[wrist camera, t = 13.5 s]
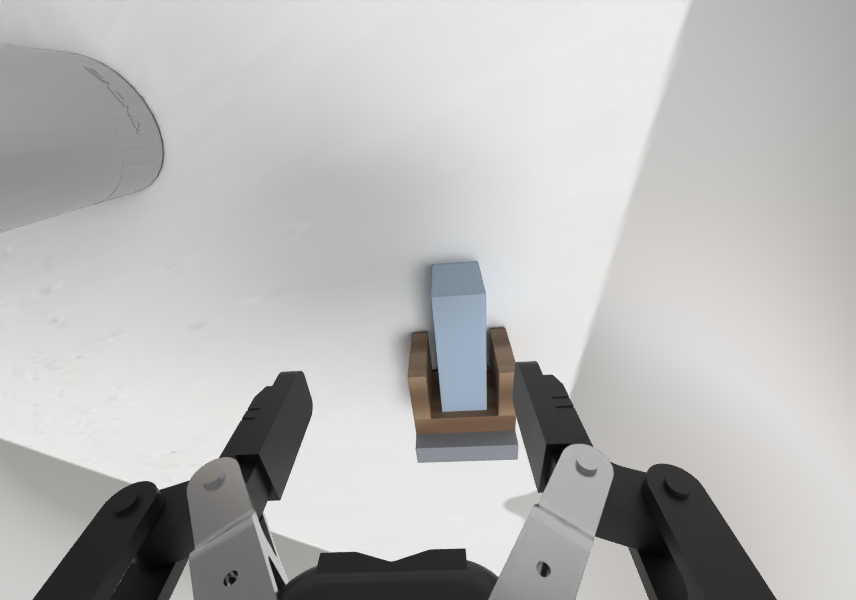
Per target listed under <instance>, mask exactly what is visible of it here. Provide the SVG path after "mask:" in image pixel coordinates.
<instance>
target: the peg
mask: <svg viewBox="0 0 856 600" xmlns="http://www.w3.org/2000/svg"><path fill="white" fill-rule="evenodd" d="M431 300H432V310H433V321H434V331H435V341H436V352H437V362H438V372H439V383H440V393H441V403H442V412H452V411H475V410H487V378H486V292H485V288H484V284H483V280H482V276H481V272H480V268H479V264H478V261H476V262H462V263H448V264H434V265H432V290H431Z"/></svg>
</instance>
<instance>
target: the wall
mask: <svg viewBox="0 0 856 600" xmlns="http://www.w3.org/2000/svg"><path fill="white" fill-rule="evenodd" d="M416 454H417V460H418V463H424V462H454V461H485V460H515V459H517V458H518V441H517V437H516V433H515V431H492V432H465V433H439V434H417V435H416Z"/></svg>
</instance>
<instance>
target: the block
mask: <svg viewBox="0 0 856 600" xmlns="http://www.w3.org/2000/svg"><path fill="white" fill-rule="evenodd" d="M514 370H515V359H514V356H513V352H512V349H511V346H510V342H509V339H508V335H507V332H506V329H505V328H499V329H490V369H486V378H487V410H475V411H452V412H442V403H441V393H440V383H439V372H438V371H432V367H431V358H430V349H429V339H428V333H413V334H412V343H411V352H410V361H409V370H408V383H409V389H410V396H411V402H412V408H413V415H414V421H415V428H416V434H439V433H465V432H492V431H515V423H516V413H515V410H514V405H513V382H514Z"/></svg>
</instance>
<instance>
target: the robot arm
mask: <svg viewBox="0 0 856 600" xmlns="http://www.w3.org/2000/svg"><path fill="white" fill-rule="evenodd" d="M162 158H163V150H162V141H161V137H160V134H159V130H158V127H157V125H156V123H155V120H154V118H153V116H152V114H151V112H150V111H149V109H148V107H147V106H146V104H145V103H144V101H143V100H142V98H141V97H140V96H139V95H138V94H137V93H136V91H135V90H134V89H133V88H132V87H131V86H130V84H128V83H127V82H126V81H125V80H124V79H123V78H121V77H120V76H119V75H118V74H117V73H116V72H114V71H113V70H111V69H110V68H108V67H106V66H105V65H103V64H102V63H100V62H98V61H95V60H93V59H91V58H88V57H86V56H83V55H78V54H73V53H68V52H60V51H52V50H44V49H36V48H29V47H21V46H14V45H8V44H0V232H4V231H7V230H10V229H14V228H17V227H20V226H23V225H27V224H30V223H33V222H37V221H40V220H43V219H46V218H50V217H53V216H56V215H60V214H63V213H66V212H70V211H73V210H76V209H79V208H83V207H86V206H89V205H93V204H97V203H100V202H103V201H106V200H110V199H113V198H116V197H119V196H123V195H126V194H129V193H133V192H136V191H139V190H142V189H143V188H145V187H147V186H149V185H150V184H151V183H152V182H153V181H154V180H155V178H156V177H157V175H158V173H159V171H160V169H161V165H162ZM513 405H514V410H515V413H516V417H517V420H518V424H519V427H520V431H521V434H522V438H523V442H524V445H525V449H526V452H527V456H528V459H529V463H530V466H531V470H532V473H533V477H534V480H535V484H536V487H537V491H538V493H540V492H544V493H543V495H542V497H541V499H540V501H539V503H538V504H537V505H534V507H533V508H532V510H531V512H530V514H529V516H528V518H527V520H526V522H525V524H524V526H523V528H522V530H521V532H520V534H519V537H518V539H517V541H516V543H515V545H514V547H513V549H512V551H511V553H510V555H509V557H508V559H507V562H506V564H505V566H504V568H503V570H502V572H501V574H500V576H499V577H498V576H496V575H495V574H494V573H493V572H491V571H490V570H488V569H486V568H485V567H483V566H481V565H479V564H477V563H474V562H471V561H468V560H466V549H434V550H427V551H424V552H421V553H418V554H415V555H412V556H409V557H406V558H403V559H400V560H397V561H392V562H390V561H386V560H382V559H379V558H375V557H372V556H368V555H365V554H361V553H358V552H335V553H320V557H319V561H318V565H317V566H315V567H313V568H310V569H308V570H306V571H304V572H303V573H301V574H299V575H298V576H296V577H295V578H294V579H292V580H291V581H290V582H289V581H288V578H287V576H286V574H285V571H284V569H283V567H282V564H281V561H280V558H279V555H278V552H277V549H276V546H275V543H274V540H273V538H272V535H271V532H270V529H269V526H268V523H267V520H266V517H265V514H264V512H263V511H264V508H265V506H266V503H267V501H275V500H281V497H282V494H283V491H284V489H285V486H286V483H287V481H288V478H289V475H290V473H291V470H292V467H293V464H294V462H295V459H296V456H297V454H298V451H299V448H300V446H301V443H302V440H303V437H304V435H305V432H306V429H307V427H308V424H309V421H310V418H311V415H312V409H313V404H312V398H311V395H310V392H309V389H308V385H307V382H306V379H305V376H304V373H303V372H302V371H290V372H281V373H279V375H278V376H277V378H276V380H275V382H274V384H273V386H266V387H265V388H264V389H263V390H262V391H261V392H260V393H259V394H257V395H256V396H255V397H254V399H253V401H252V403H251V404H250V406H249V408H248V411H246V413H245V414H244V416H243V418H242V421H240V423H239V425H238V426H237V428H236V430H235V432H234V433H233V435H232V437H231V438H230V440H229V442H228V443H227V445H226V447H225V449H224V450H223V452H222V454H221V455H220V457H219V458H218V459H215V460H213V461H210V462H209V463H207V464H205V465H204V466H202V467H201V468H200V469H199V470H198V471H197V472H196V473H195V474H194V475H193V476H192V478H191V479H190V480H189V481H187V482H183V483H180V484H177V485H174V486H171V487H168V488H165V489H161V490H159V489H158V488H157V487H156V485H155V484H154V483H152V482H149V481H142V482H137V483H134V484H131V485H129V486H127V487H125V488H123V489H122V490H120V491H119V492H117V493H116V494H114V495H113V496H112V497H111V498H110V499H109V500H108V501H107V502H106V503H105V504H104V505H103V507H102V508H101V509H100V510H99V512H98V513H97V514H96V516H95V517H94V519H93V520H92V521H91V522H90V524H89V525H88V526H87V528H86V529H85V530H84V532H83V533H82V534H81V536H80V537H79V538H78V540H77V541H76V543H75V544H74V545H73V547H72V548H71V549H70V550H69V552H68V553H67V554H66V556H65V557H64V558H63V560H62V561H61V563H60V564H59V565H58V566H57V568H56V569H55V570H54V572H53V573H52V575H51V576H50V577H49V579H48V580H47V581H46V583H45V584H44V585H43V586H42V588H41V589H40V590H39V592H38V593H37V595H36V596H35V597H34V599H33V600H169V599H170V597H171V595H172V593H173V590H174V588H175V586H176V584H177V582H178V580H179V578H180V576H181V574H182V571H183V569H184V567H185V565H186V563H187V561H188V559H189V565H190V573H191V581H192V589H193V596H194V600H575V599H576V595H577V592H578V589H579V586H580V583H581V580H582V576H583V573H584V570H585V567H586V564H587V560H588V557H589V554H590V551H591V547H592V544H593V541H594V537H595V536H596V537H599V538H602V539H605V540H608V541H611V542H615V543H618V544H621V545H624V546H627V547H628V548H629V550H630V553H631V555H632V558H633V560H634V563H635V565H636V568H637V570H638V573H639V575H640V578H641V581H642V583H643V585H644V588H645V590H646V593H647V596H648V598H649V600H777V599H776V598H775V596H774V595H773V593H772V592H771V590H770V589H769V587H768V586H767V584H766V583H765V581H764V580H763V578H762V576H761V575H760V573H759V572H758V570H757V569H756V567H755V566H754V564H753V563H752V561H751V560H750V558H749V556H748V555H747V554H746V552H745V550H744V549H743V547H742V546H741V544H740V543H739V541H738V540H737V538H736V537H735V535H734V533H733V532H732V531H731V529H730V527H729V526H728V524H727V523H726V521H725V520H724V518H723V517H722V515H721V514H720V512H719V510H718V509H717V507H716V506H715V504H714V503H713V501H712V500H711V498H710V497H709V495H708V494H707V492H706V491H705V489H704V488H703V486H702V485H701V484H700V483H699V481H698V480H697V479H696V478H694V477H693V476H692V475H691V474H689V473H688V472H686V471H685V470H683V469H681V468H679V467H676V466H673V465H669V464H656V465H653V466H652V467H650V468H649V470H648V471H647V473H646V472H642V471H638V470H633V469H630V468H626V467H622V466H619V465H616V464H614V463H612V462H610V461H609V459H608V458H607V457H606V456H605V455H604V454H603V453H602V452H600V451H599V450H597V449H596V448H594V447H593V445H592V443H591V442H590V439H589V437H588V435H587V433H586V431H585V429H584V427H583V425H582V423H581V421H580V419H579V417H578V415H577V412H576V411H575V409H574V408H573V404H572V402H571V400H570V398H569V396H568V394H567V392H566V390H565V387H564V385H563V384H562V383H561V382H560V381H559V380H558V379H557V378H555V377H554V376H553V375H543V374H542V372H541V369H540V367H539V365H538V363H537V362H536V361H531V362H516V363H515V370H514V382H513ZM129 565H130V566H129ZM126 570H127V571H126ZM123 575H124V576H123ZM120 580H121V581H120ZM117 585H118V586H117ZM116 587H117V588H116ZM114 590H115V591H114ZM113 592H114V593H113Z"/></svg>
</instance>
